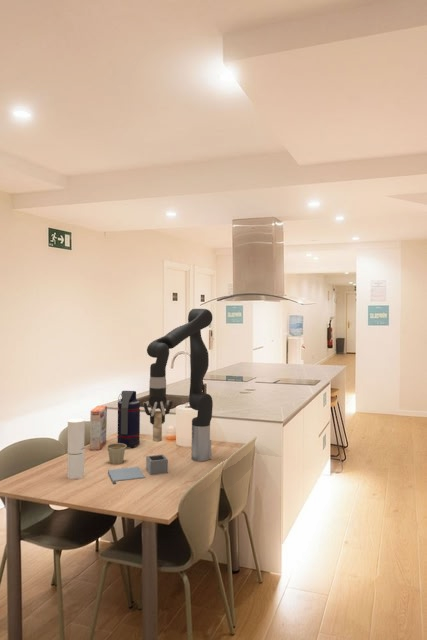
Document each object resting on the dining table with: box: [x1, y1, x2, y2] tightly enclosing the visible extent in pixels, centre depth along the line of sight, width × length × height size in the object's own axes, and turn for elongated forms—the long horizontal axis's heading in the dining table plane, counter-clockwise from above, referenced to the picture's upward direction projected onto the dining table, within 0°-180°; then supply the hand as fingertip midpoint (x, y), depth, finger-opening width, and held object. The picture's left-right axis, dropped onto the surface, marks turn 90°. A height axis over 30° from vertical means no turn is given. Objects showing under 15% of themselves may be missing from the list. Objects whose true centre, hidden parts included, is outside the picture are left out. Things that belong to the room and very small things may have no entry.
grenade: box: [117, 390, 141, 449], centre depth 259 cm, size 14×12×30 cm
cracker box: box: [89, 405, 108, 451], centre depth 257 cm, size 14×6×21 cm, turn 179°
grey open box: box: [145, 454, 169, 476], centre depth 218 cm, size 8×8×7 cm
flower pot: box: [106, 442, 127, 465], centre depth 230 cm, size 9×9×9 cm
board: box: [107, 466, 146, 485], centre depth 212 cm, size 14×14×2 cm
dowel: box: [152, 410, 163, 443], centre depth 217 cm, size 4×4×13 cm
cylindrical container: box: [66, 418, 85, 480], centre depth 212 cm, size 7×7×25 cm
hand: (157, 423), depth 217 cm, fingers closed on dowel, 4 cm apart
